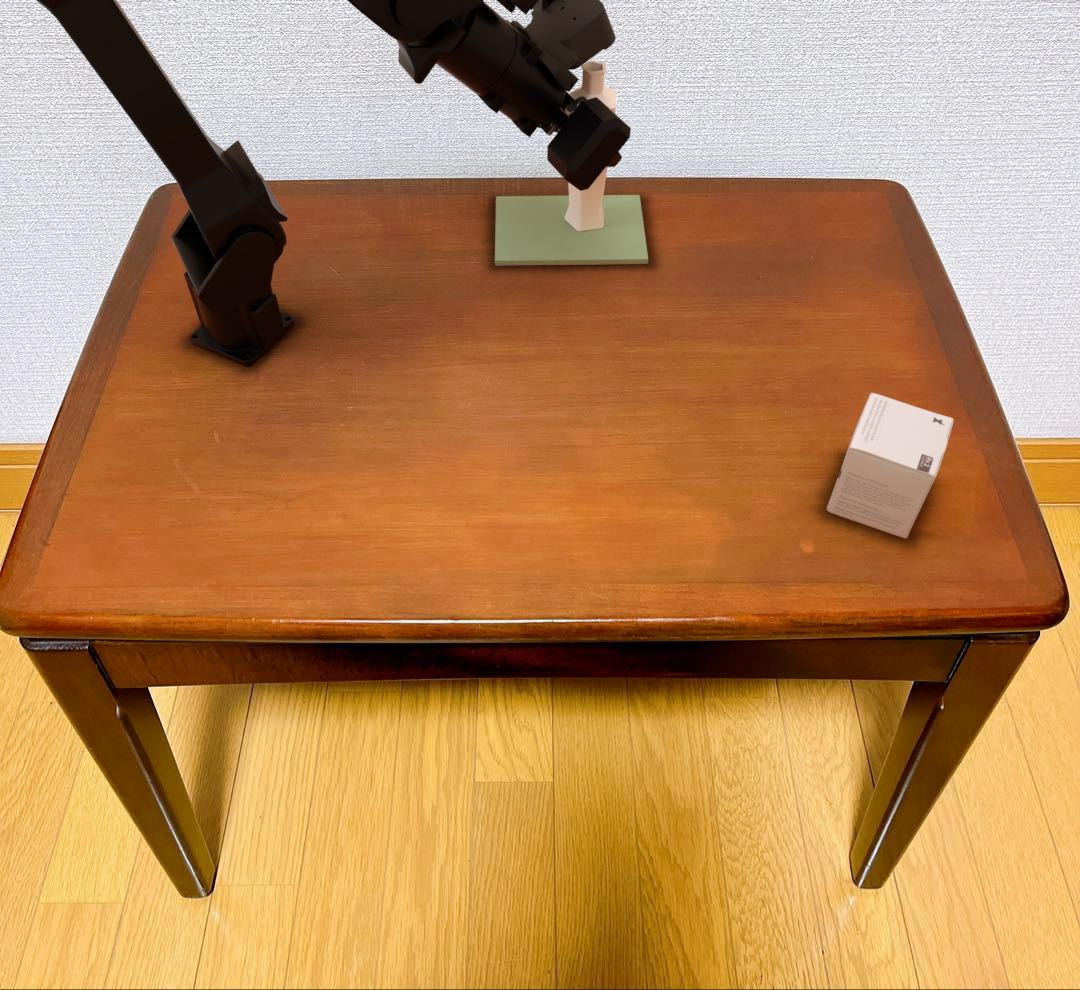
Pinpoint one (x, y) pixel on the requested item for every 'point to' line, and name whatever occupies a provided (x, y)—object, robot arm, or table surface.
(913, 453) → the product carton
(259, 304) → the robot arm
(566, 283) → the table surface
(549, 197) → the mat
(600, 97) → the perfume bottle
